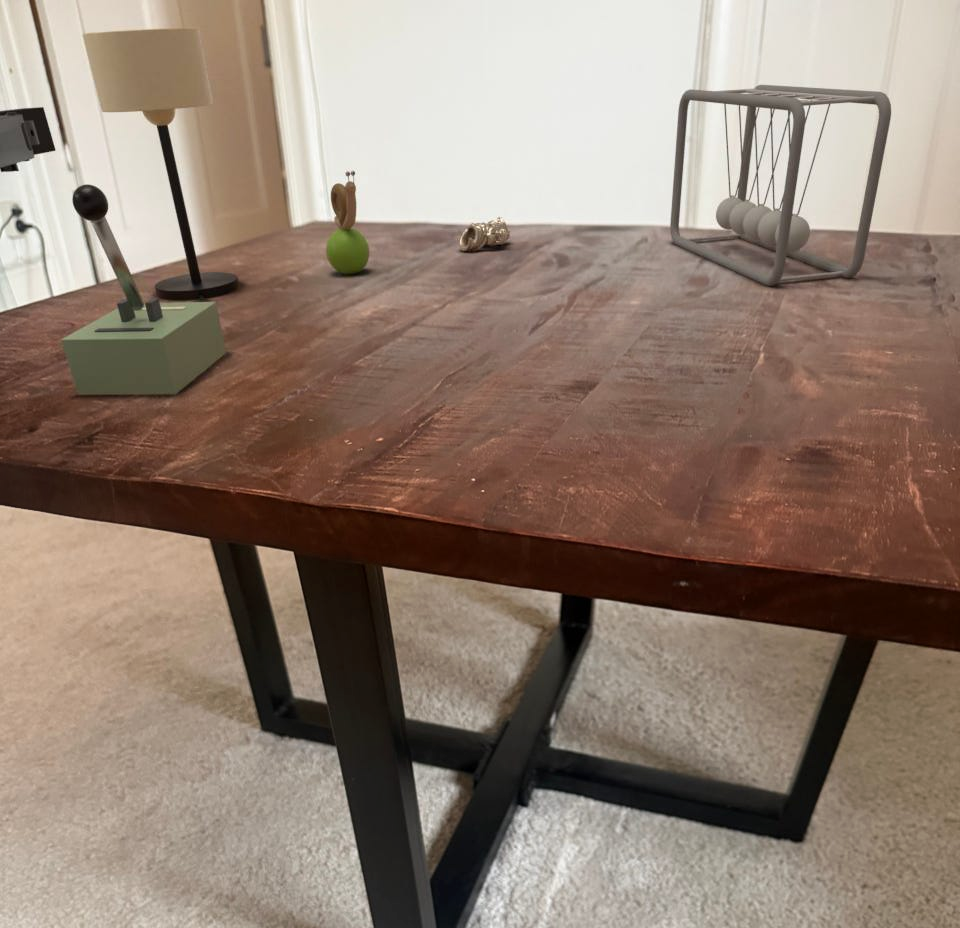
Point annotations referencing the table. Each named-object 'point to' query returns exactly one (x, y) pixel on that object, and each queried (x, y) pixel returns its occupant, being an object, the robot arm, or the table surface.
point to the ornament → (484, 235)
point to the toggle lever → (106, 238)
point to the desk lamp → (159, 117)
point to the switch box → (145, 348)
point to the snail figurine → (346, 232)
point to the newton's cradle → (760, 221)
